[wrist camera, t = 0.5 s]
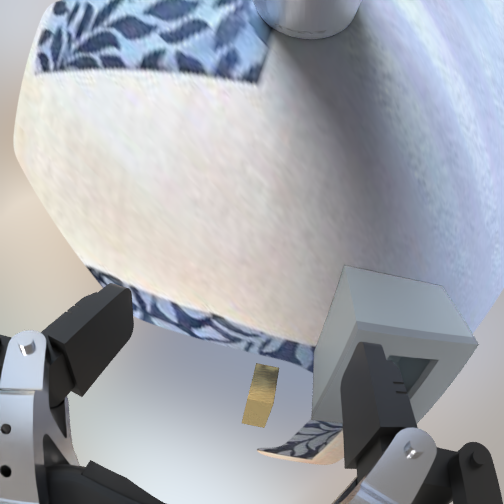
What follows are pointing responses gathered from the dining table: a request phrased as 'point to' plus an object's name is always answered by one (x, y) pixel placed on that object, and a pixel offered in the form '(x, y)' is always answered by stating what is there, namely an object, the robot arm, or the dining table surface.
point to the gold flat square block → (261, 395)
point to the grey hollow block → (390, 338)
